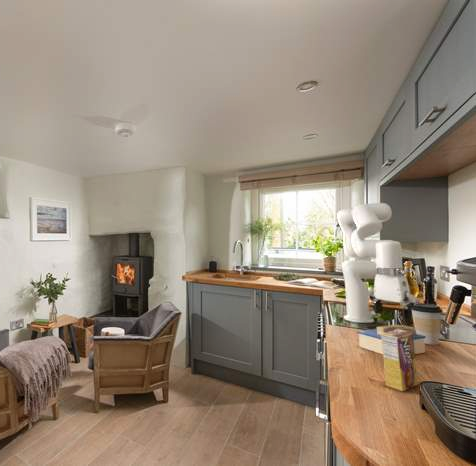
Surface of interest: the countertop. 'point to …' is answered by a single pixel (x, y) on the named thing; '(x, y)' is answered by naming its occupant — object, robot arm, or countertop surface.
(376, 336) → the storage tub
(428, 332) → the coffee cup
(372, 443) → the countertop surface
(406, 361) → the candy box
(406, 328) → the wooden block
